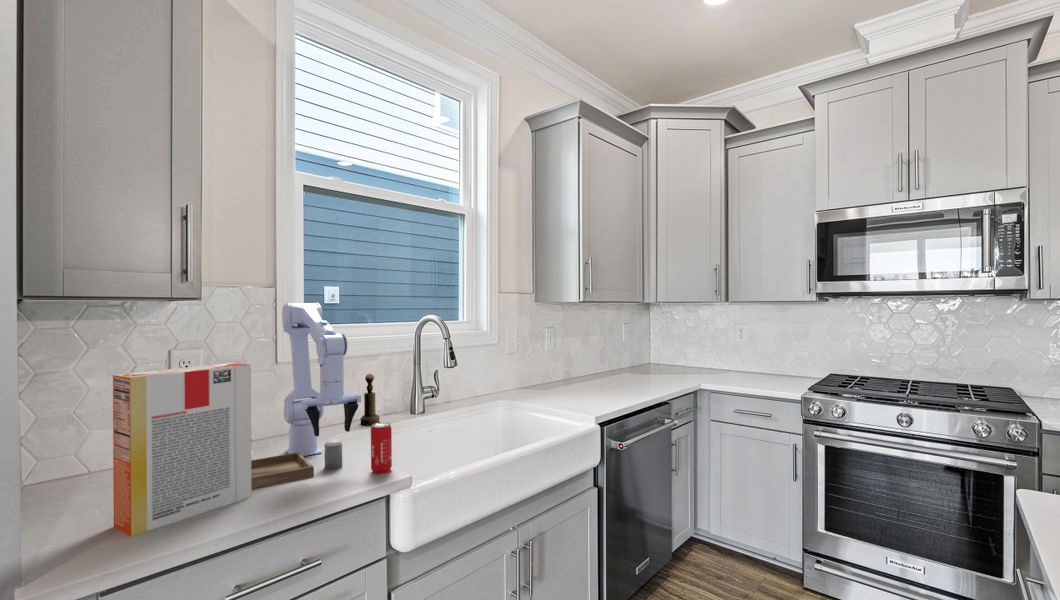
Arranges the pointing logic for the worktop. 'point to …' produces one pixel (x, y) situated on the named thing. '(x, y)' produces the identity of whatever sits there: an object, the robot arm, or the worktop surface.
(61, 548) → the worktop surface
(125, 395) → the cereal box
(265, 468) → the walnut tray
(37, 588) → the worktop surface
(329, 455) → the cylinder
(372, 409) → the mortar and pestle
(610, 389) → the worktop surface
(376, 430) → the beverage can
